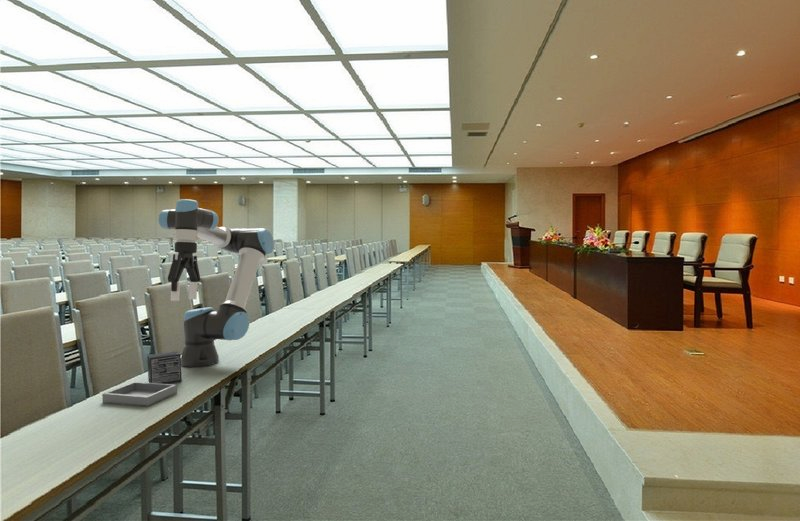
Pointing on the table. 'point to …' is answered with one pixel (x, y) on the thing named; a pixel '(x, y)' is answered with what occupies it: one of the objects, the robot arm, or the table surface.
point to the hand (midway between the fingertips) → (184, 300)
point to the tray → (140, 394)
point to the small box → (164, 368)
